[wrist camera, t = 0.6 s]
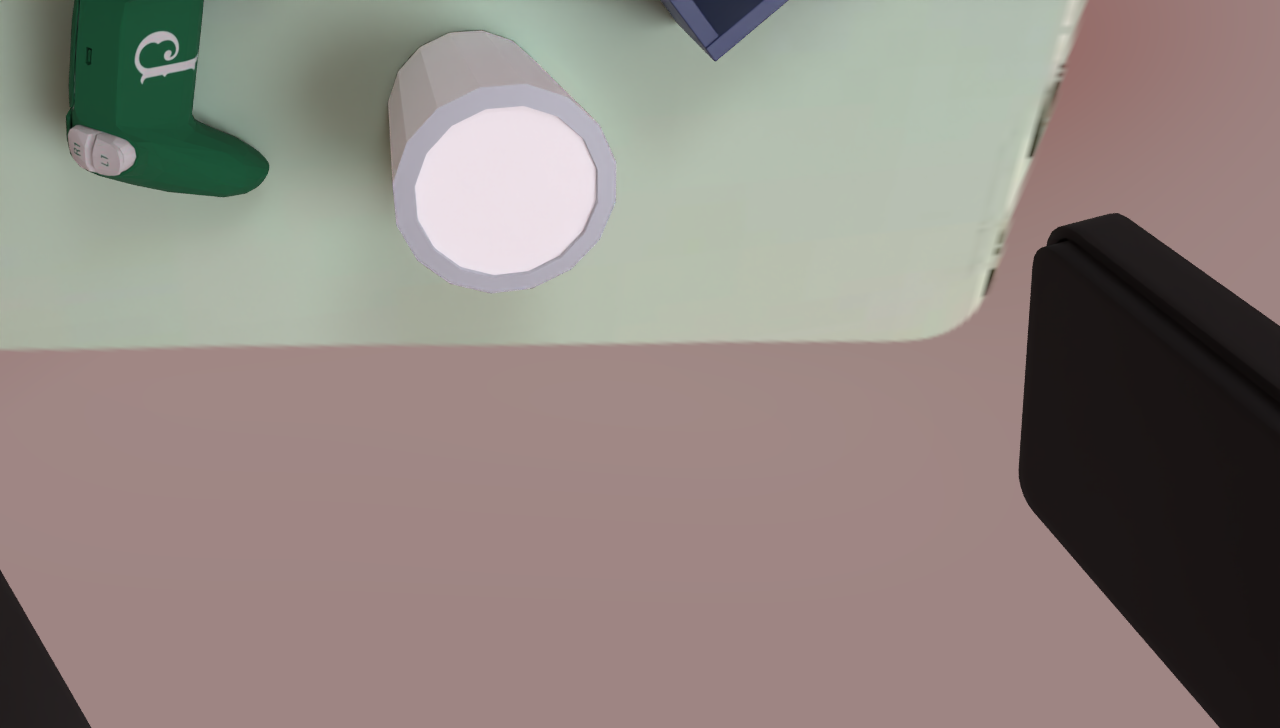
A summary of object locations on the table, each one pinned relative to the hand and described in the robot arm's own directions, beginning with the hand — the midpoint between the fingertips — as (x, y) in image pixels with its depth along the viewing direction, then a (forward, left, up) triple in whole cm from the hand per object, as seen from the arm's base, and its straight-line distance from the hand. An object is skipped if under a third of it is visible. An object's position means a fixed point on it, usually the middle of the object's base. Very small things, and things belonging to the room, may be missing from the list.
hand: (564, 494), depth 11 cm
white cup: (+9, -2, -32) cm, 34 cm away
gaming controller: (+1, -7, -32) cm, 33 cm away
